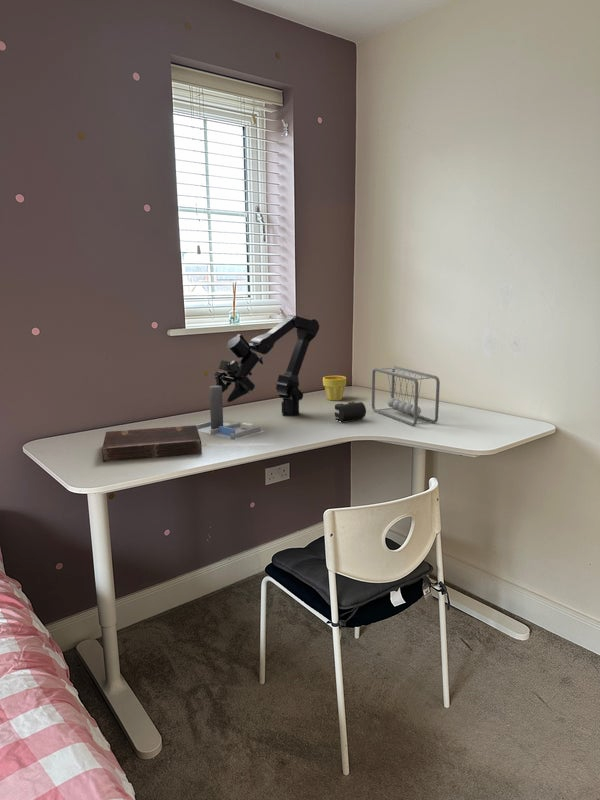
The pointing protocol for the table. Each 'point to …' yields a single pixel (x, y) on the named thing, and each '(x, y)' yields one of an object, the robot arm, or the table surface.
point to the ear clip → (246, 425)
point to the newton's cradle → (403, 405)
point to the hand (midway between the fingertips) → (220, 399)
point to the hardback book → (151, 443)
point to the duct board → (229, 430)
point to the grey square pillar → (216, 406)
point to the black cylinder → (350, 411)
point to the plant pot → (334, 387)
